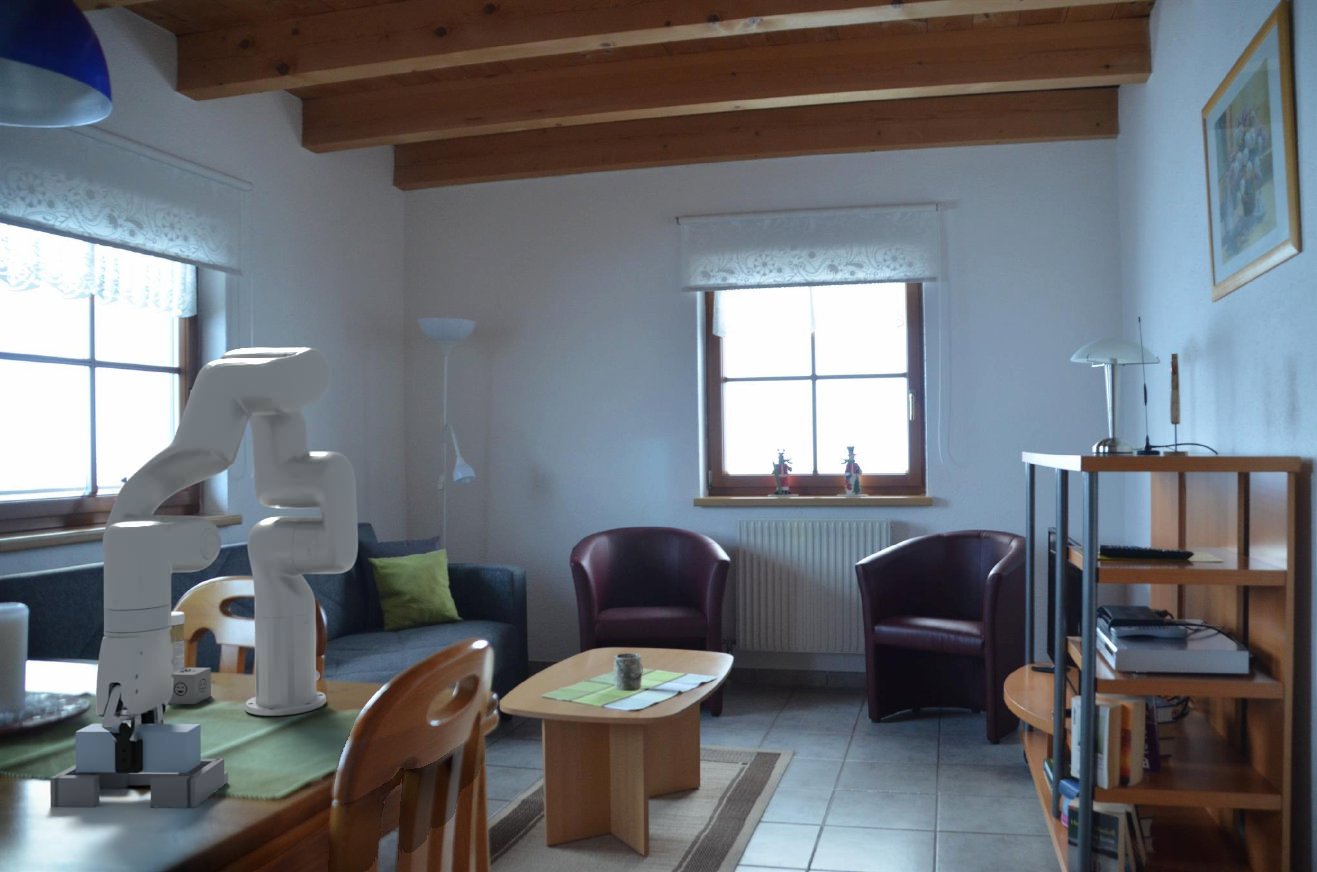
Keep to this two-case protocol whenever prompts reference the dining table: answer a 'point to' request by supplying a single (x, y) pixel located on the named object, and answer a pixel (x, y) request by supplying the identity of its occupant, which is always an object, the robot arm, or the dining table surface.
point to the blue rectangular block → (161, 748)
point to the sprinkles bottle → (177, 639)
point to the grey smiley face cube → (191, 685)
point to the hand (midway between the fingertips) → (138, 765)
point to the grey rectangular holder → (164, 786)
